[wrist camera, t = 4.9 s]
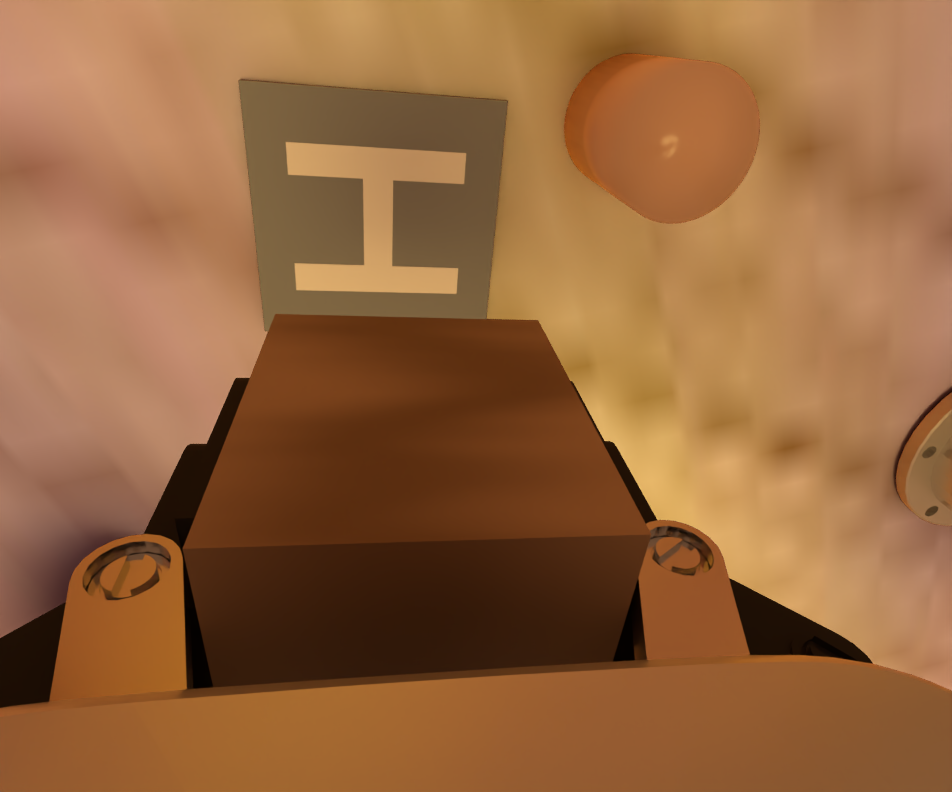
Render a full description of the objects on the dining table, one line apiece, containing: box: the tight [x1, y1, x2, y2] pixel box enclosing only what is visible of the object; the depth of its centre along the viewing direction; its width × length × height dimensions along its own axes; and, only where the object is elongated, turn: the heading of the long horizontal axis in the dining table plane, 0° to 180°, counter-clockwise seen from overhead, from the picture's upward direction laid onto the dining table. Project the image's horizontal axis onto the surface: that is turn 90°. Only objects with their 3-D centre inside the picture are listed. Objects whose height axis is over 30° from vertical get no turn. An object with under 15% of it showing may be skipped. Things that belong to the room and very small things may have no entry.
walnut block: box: [183, 314, 651, 687], centre depth 10 cm, size 5×5×6 cm
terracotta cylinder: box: [564, 54, 760, 224], centre depth 22 cm, size 5×5×6 cm
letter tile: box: [239, 80, 508, 331], centre depth 25 cm, size 10×10×1 cm
